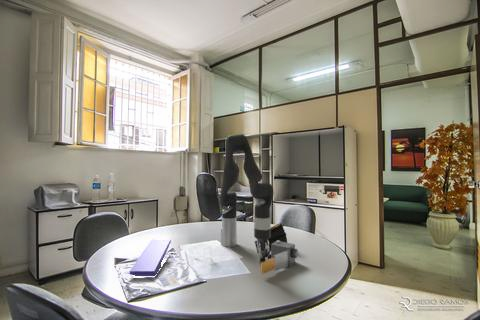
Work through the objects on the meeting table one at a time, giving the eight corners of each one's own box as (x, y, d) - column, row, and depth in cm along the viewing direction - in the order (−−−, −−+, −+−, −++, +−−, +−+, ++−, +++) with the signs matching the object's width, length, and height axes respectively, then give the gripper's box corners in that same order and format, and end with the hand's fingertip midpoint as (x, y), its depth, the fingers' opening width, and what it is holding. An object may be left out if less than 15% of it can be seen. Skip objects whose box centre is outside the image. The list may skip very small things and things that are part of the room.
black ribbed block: (293, 246, 137) (282, 223, 138) (273, 256, 137) (262, 233, 137) (291, 244, 141) (280, 222, 142) (272, 254, 141) (261, 232, 141)
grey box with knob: (271, 261, 120) (270, 242, 120) (277, 257, 125) (277, 239, 126) (293, 267, 112) (293, 247, 113) (299, 263, 118) (299, 243, 118)
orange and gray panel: (288, 265, 114) (287, 249, 114) (290, 266, 113) (289, 249, 113) (260, 277, 102) (260, 258, 102) (262, 278, 101) (262, 259, 101)
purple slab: (171, 255, 130) (171, 238, 131) (155, 279, 102) (156, 256, 103) (150, 256, 130) (150, 238, 130) (129, 280, 102) (129, 257, 102)
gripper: (249, 224, 112) (249, 260, 111) (260, 231, 99) (260, 272, 99) (263, 222, 114) (264, 258, 113) (276, 229, 101) (276, 270, 101)
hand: (262, 265), depth 106 cm, fingers closed
